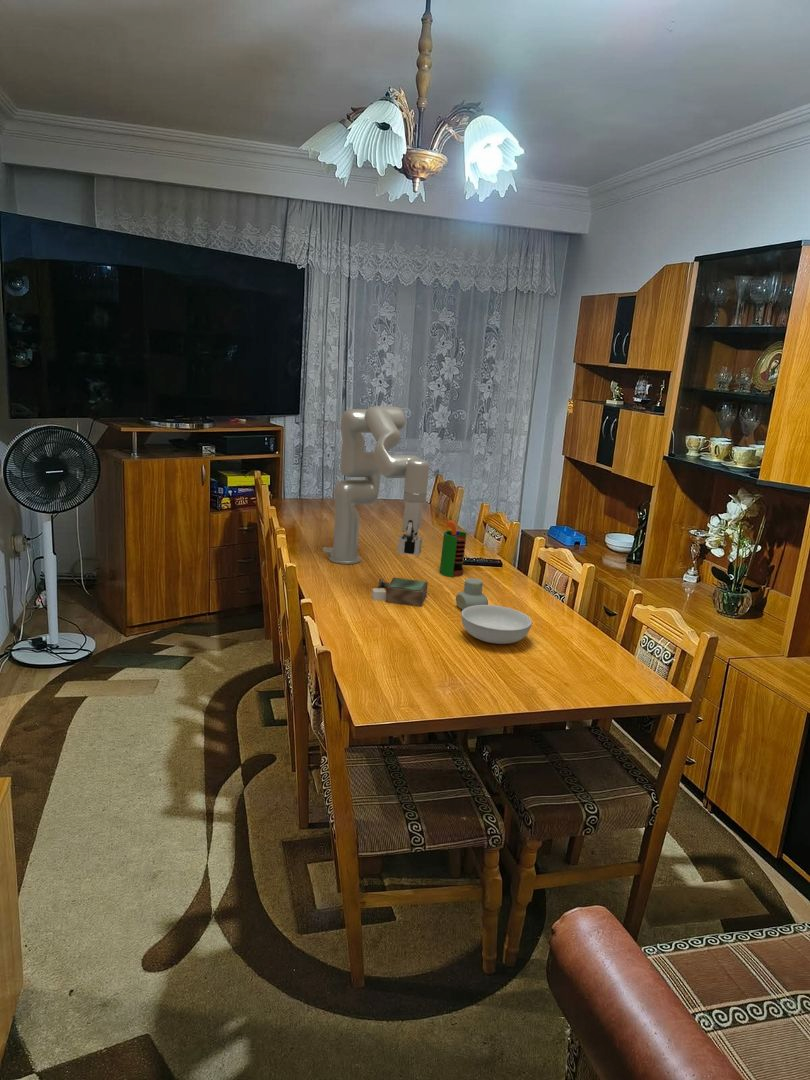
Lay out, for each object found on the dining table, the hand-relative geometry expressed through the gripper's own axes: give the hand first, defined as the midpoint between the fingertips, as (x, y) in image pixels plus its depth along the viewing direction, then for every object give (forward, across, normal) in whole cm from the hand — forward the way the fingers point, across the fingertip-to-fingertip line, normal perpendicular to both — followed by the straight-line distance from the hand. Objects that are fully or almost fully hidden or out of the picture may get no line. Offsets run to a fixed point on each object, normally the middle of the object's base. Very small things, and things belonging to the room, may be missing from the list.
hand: (410, 550), depth 247 cm
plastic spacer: (+17, +3, -9) cm, 20 cm away
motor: (+17, -37, +11) cm, 42 cm away
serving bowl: (+17, +25, +31) cm, 43 cm away
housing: (+1, 0, 0) cm, 1 cm away
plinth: (+17, 0, 0) cm, 17 cm away
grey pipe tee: (+17, +2, +22) cm, 28 cm away
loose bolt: (+17, -10, -8) cm, 21 cm away
